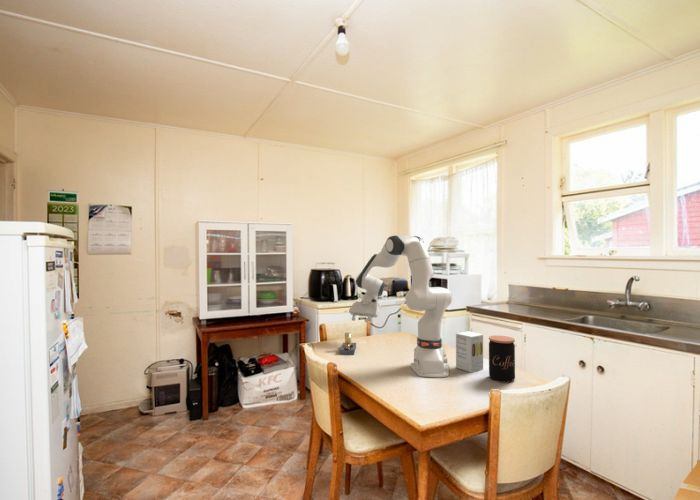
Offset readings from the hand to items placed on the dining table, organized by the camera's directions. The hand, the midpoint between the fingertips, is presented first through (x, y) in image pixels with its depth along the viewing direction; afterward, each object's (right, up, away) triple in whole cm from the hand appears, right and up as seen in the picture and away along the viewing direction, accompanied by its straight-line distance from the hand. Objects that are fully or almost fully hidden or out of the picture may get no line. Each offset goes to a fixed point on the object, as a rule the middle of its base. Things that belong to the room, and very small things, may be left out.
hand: (359, 320), depth 212 cm
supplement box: (+52, -15, -42) cm, 69 cm away
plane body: (-7, -15, -9) cm, 19 cm away
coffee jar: (+62, -15, -56) cm, 85 cm away
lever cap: (-7, -15, -9) cm, 19 cm away
